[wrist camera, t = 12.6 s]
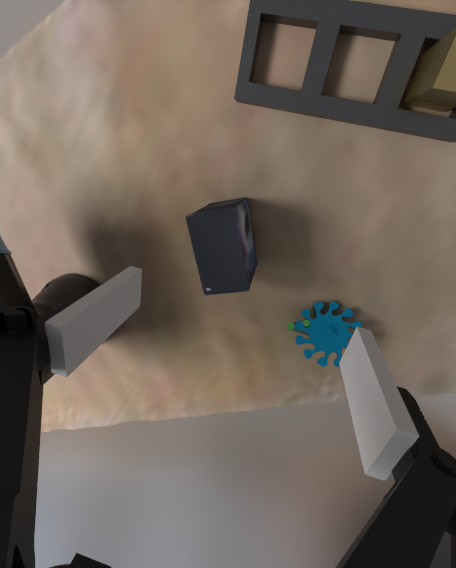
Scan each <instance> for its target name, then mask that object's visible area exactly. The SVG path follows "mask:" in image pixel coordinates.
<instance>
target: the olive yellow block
mask: <svg viewBox="0 0 456 568" xmlns="http://www.w3.org/2000/svg"><path fill="white" fill-rule="evenodd" d="M401 104H404V105H409V106H415V107H420V108H425V109H430V110H435V111H440V112H442V111H445V110H449V109H452V108H455V107H456V28H454V29H453V30H452V31H451V32H449V33H448V34H447V35H446V36H445V37H443V38H442V39H441V40H440V41H438V42H437V43H436V44H435V45H433V46H432V47H431V48H430V49H428V50H427V51H426V52H425V53H423V54H422V55H421V57H420V59H419V62H418V64H417V66H416V69H415V71H414V74H413V76H412V79H411V81H410V84H409V86H408V88H407V91H406V93H405V96H404V98H403V101H402V103H401Z"/></svg>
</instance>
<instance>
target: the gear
mask: <svg viewBox="0 0 456 568" xmlns="http://www.w3.org/2000/svg"><path fill="white" fill-rule="evenodd" d="M338 307H339V304H337V303H336V302H333V301H332V302H331V303H330V305H329V311H328V312H327V313H326V314H325V315H322V314H321V313H320V310H321V309H322V308H323V303H321V302H315V304H314V308H315V310H316V318H315V319H311V318H310V310H309V309H305V310H303V311H302V312H301V314H302V316H303V317H305V318H306V319H307V320H304V321H303V323H302V321H300V320H298V321H297V322H295V323H289V324H288V330H290V331H292V330H294V331H295V332H296V333H301V334H304V335H308V336H309V339H304V338H303V337H302V336H300V335H298V336H297V337H296V344H298V345H301V344H303V343H310V344H313V345H314V346H315V349H314V350H310V349H305V350H304V355H305V357H306V358H307V359H309V358H311V357H312V355H313V354H314V353H315V352H318V351H324V352H325V357H322V358H319V359H318V361H317V363H318V364H319V365H321V366H323V367H325V366H326V365H327V359H328V356H329V355H330V354H331V353H332V352H335V353H336V354H337V358H336V359H335V360H334V365H335V366H340V364H339V363H340V361H341V358H342V356H341V351H342V348H343V347H345V348H347V346H348V344H349V342H348V338H352V336H353V334H351V333H350V332H349V331H348V327H352V328H353V329H354V330H355V329H356V327H361V328H362V323H361V322H360V321H357V322H354V323H346V322H343V321H342V317H346V318H350V317H352V315H353V312H352V311H351V310H350V309H349V308H347V309H346V310H345V311H344V312H343V313H342V314H340V315H337V316H334V315H332V313H331V311H334V310H337V309H338Z"/></svg>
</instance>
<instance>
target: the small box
mask: <svg viewBox="0 0 456 568" xmlns="http://www.w3.org/2000/svg"><path fill="white" fill-rule="evenodd" d="M186 221H187V226H188V230H189V234H190V238H191V242H192V246H193V251H194V255H195V259H196V263H197V267H198V271H199V275H200V280H201V284H202V288H203V292H204V295H213V294H224V293H235V292H245V291H249V288H250V285H251V282H252V278H253V275H254V272H255V269H256V265H257V258H256V252H255V245H254V238H253V231H252V225H251V218H250V212H249V206H248V199H247V198H239V199H234V200H228V201H222V202H216V203H211V204H208V205H207V206H205V207H204V208H202V209H200V210H198V211H196V212H195V213H193V214H190V215H187V216H186Z"/></svg>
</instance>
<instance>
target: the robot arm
mask: <svg viewBox="0 0 456 568" xmlns="http://www.w3.org/2000/svg"><path fill="white" fill-rule="evenodd" d="M11 254H12V253H11V251H9V250H8V249H7V247H6V245H5V244H4V242H3V240H2V238H1V236H0V568H35V552H34V532H35V515H36V498H37V482H38V465H39V447H40V432H41V415H42V398H43V384H45V383H46V382H47V381H48V380H49V379H50V378H51V377H52V376H53V375H54V374H58V375H61V376H64V377H68V376H69V375H70V374H71V373H72V372H73V371H74V370H75V369H76V368H77V367H78V366H79V365H80V364H81V363H82V362H83V361H84V360H85V359H86V358H87V357H88V356H89V355H90V354H91V353H92V352H94V351H95V350H96V349H97V348H98V347H99V346H100V345H101V344H102V343H103V342H104V341H105V340H106V339H107V338H108V337H109V336H110V335H111V334H112V333H113V332H114V331H115V330H116V329H117V328H118V327H119V326H120V325H121V324H123V323H124V322H125V321H126V320H127V319H128V318H129V317H130V316H131V315H132V314H133V313H134V312H135V311H136V310H137V309H138V308H139V307H140V300H141V279H142V269H141V268H137V267H133V266H130V267H128V268H127V269H125V270H123V271H122V272H120V273H119V274H117V275H116V276H114V277H113V278H111V279H110V280H108V281H107V282H105V283H104V284H102V285H101V286H99V285H98V284H97V283H96V282H94V281H93V280H91V279H89V278H87V277H84V276H81V275H77V274H65V275H62V276H60V277H58V278H56V279H54V280H52V281H50V282H49V283H47V284H46V285H45V287H44V288H43V289H42V291H41V292H40V293H39V294H38V295H37V296H36V297H35V298H34V299H33V300H32V301H31V299H30V296H29V294H28V292H27V290H26V288H25V286H24V284H23V281H22V279H21V277H20V275H19V272H18V270H17V268H16V266H15V263H14V261H13V259H12V257H11ZM339 364H340V368H341V373H342V377H343V381H344V386H345V390H346V394H347V399H348V403H349V407H350V411H351V416H352V420H353V424H354V429H355V433H356V437H357V441H358V446H359V450H360V455H361V459H362V463H363V468H364V472H365V475H369V476H372V477H375V478H378V479H381V480H384V481H385V480H386V479H387V477H388V476H389V475H390V474H391V472H392V473H393V477H394V480H395V482H396V483H395V484H394V485H393V487H392V488H391V489H390V490H389V492H388V493H387V494H386V495H385V496H384V498H383V501H382V502H381V504H380V505H379V506H378V508H377V509H376V511H375V512H374V514H373V515H372V516H371V518H370V519H369V521H368V522H367V524H366V525H365V526H364V528H363V529H362V531H361V532H360V534H359V535H358V537H357V538H356V539H355V541H354V542H353V544H352V545H351V547H350V548H349V549H348V551H347V552H346V554H345V555H344V556H343V558H342V559H341V561H340V562H339V564H338V565H337V566H336V568H429V567H430V564H431V562H432V559H433V557H434V555H435V553H436V550H437V548H438V545H439V543H440V541H441V539H442V536H443V534H444V532H445V531H446V532H448V533H449V534H451V568H456V459H455V458H454V457H452V456H451V455H450V454H449V453H447V452H446V451H444V450H443V449H441V448H440V447H439V445H438V443H437V441H436V439H435V437H434V435H433V433H432V432H431V429H430V428H429V426H428V424H427V422H426V420H425V419H424V416H423V414H422V412H421V411H420V408H419V406H418V404H417V402H416V400H415V399H414V397H413V396H412V395H411V394H410V393H409V392H408V391H407V390H406V389H404V388H400V387H397V386H396V384H395V382H394V380H393V378H392V375H391V373H390V371H389V369H388V367H387V365H386V362H385V360H384V358H383V356H382V354H381V351H380V349H379V347H378V345H377V343H376V341H375V338H374V336H373V334H372V332H371V330H368V329H365V328H361V327H356V329H355V331H354V333H353V336H352V338H351V340H350V342H349V344H348V346H347V348H346V350H345V352H344V354H343V356H342V358H341V361H340V363H339ZM50 568H111V567H110V566H108V565H105V564H103V563H100V562H98V561H95V560H93V559H90V558H88V557H86V556H83V555H80V554H78V553H76V555H75V557H74V559H73V560H72V562H71V564H64V565H58V566H54V567H50Z"/></svg>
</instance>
